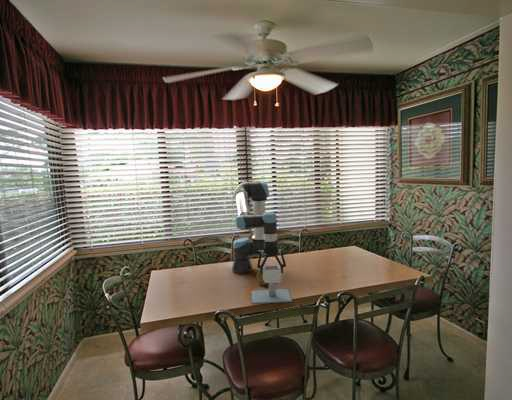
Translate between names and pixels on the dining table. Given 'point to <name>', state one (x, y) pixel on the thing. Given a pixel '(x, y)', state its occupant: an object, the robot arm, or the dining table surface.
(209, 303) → the dining table surface
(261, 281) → the potato
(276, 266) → the grey open box
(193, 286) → the dining table surface
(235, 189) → the robot arm
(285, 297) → the vent plate
